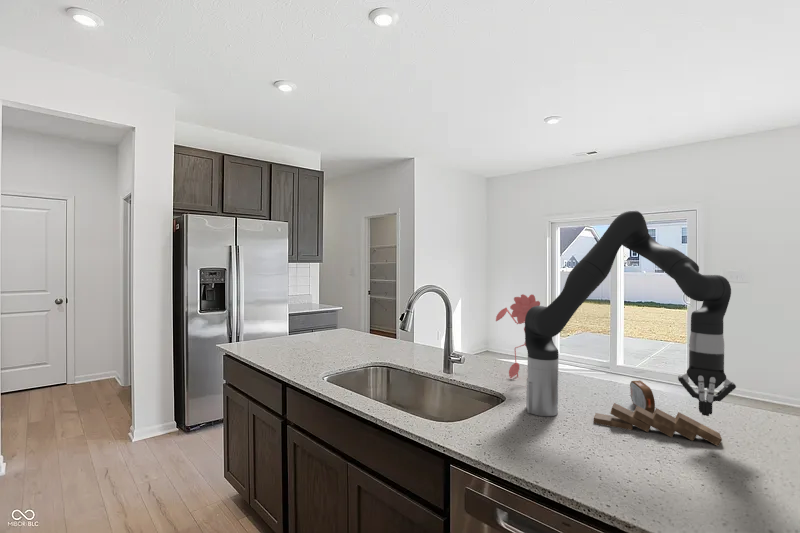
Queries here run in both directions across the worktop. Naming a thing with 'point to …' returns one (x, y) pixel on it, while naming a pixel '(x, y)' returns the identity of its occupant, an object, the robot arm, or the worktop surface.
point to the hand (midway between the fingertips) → (705, 414)
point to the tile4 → (671, 423)
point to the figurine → (519, 319)
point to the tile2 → (628, 417)
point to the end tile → (698, 429)
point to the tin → (642, 396)
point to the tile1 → (612, 421)
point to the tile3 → (651, 421)
